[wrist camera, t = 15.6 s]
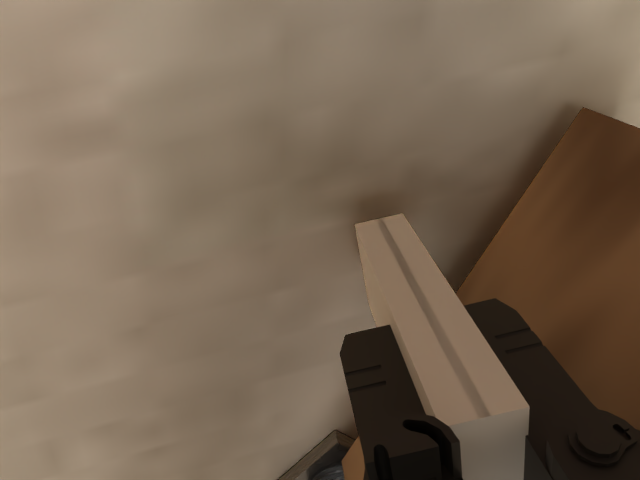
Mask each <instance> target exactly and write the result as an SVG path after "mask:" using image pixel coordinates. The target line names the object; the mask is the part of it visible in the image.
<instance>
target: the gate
mask: <svg viewBox="0 0 640 480" xmlns="http://www.w3.org/2000/svg"><path fill="white" fill-rule="evenodd" d="M456 295H457V297H458V298H459V300H460V301H461V303H462V304H463V306H464V305H468V304H472V303H476V302H481V301H485V300H489V299H493V298H496V299H498V300H499V301H501V302H503V303H505V304H506V305H508V306H510V307H511V308H513V309H515V310H516V311H517V312H518V313H519V314H520V315H521V317H522V318H523V319H524V320H525V322H526V323H527V324H528V325H529V327H530V329H531V331H533V332H534V333H535V334H536V335H537V336H538V338H539V339H540V340H541V341H542V344H543V346H546V348H547V349H548V350H549V351H550V352H551V354H552V355H553V356H554V357H555V359H556V360H557V361H558V362H559V364H560V365H561V366H562V367H563V368H564V370H565V371H566V372H567V373H568V375H569V376H570V377H571V378H572V380H573V381H574V382H575V383H576V384H577V386H578V387H579V388H580V389H581V391H582V392H583V393H584V394H585V396H586V397H587V398H588V399H589V400H590V402H591V403H592V404H593V405H594V406H595V407H596V408H597V409H599V410H604V411H607V412H609V413H612V414H614V415H616V416H618V417H620V418H622V419H624V420H626V421H627V422H628V423H629V424H630V425H631V426H633V427H634V428H635V429H637V430H640V128H637V127H635V126H632V125H629V124H627V123H624V122H621V121H619V120H616V119H613V118H611V117H608V116H605V115H603V114H600V113H597V112H595V111H592V110H589V109H587V108H584V107H583V108H582V109H581V111H580V112H579V113H578V115H577V116H576V118H575V119H574V121H573V122H572V124H571V125H570V127H569V128H568V130H567V131H566V133H565V134H564V135H563V137H562V138H561V140H560V141H559V143H558V144H557V146H556V147H555V149H554V150H553V152H552V153H551V155H550V156H549V157H548V159H547V160H546V162H545V163H544V165H543V166H542V168H541V169H540V171H539V172H538V174H537V175H536V177H535V178H534V179H533V181H532V182H531V184H530V185H529V187H528V188H527V190H526V191H525V193H524V194H523V196H522V197H521V199H520V200H519V201H518V203H517V204H516V206H515V207H514V209H513V210H512V212H511V213H510V215H509V216H508V218H507V219H506V221H505V222H504V223H503V225H502V226H501V228H500V229H499V231H498V232H497V234H496V235H495V237H494V238H493V240H492V241H491V243H490V244H489V245H488V247H487V248H486V250H485V251H484V253H483V254H482V256H481V257H480V259H479V260H478V262H477V263H476V265H475V266H474V267H473V269H472V270H471V272H470V273H469V275H468V276H467V278H466V279H465V281H464V282H463V284H462V285H461V287H460V288H459V289H458V291H457V292H456ZM342 467H343V473H344V478H345V480H363V477H364V471H365V464H364V456H363V451H362V447H361V443H360V439H359V436H358V438H357V439H356V440H355V442H354V443H353V445H352V446H351V448H350V449H349V451H348V452H347V454H346V455H345V457H344V458H343V460H342Z"/></svg>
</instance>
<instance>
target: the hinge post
mask: <svg viewBox="0 0 640 480" xmlns="http://www.w3.org/2000/svg"><path fill="white" fill-rule="evenodd" d="M354 442H355V440H354V439H352V438H350V437H348V436H346V435H344V434H342V433H340V432H338V431H336V430H335V431H334V432H332V433H331V434H330V435H329V436H328V437H327V438H326V439H324V440H323V441H322V442H321V443H320V444H319V445H318V446H316V447H315V448H314V449H313V450H312V451H311V452H309V453H308V454H307V455H306V456H305V457H304V458H303V459H301V460H300V461H299V462H298V463H297V464H296V465H294V466H293V467H292V468H291V469H290V470H289V471H288V472H286V473H285V474H284V475H283V476H282V477H281V478H280V479H278V480H345V478H344V473H343V467H342V460H343V458H344V457H345V455H346V454H347V452H348V451H349V449H350V448H351V446H352V445H353V443H354Z"/></svg>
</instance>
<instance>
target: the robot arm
mask: <svg viewBox="0 0 640 480" xmlns="http://www.w3.org/2000/svg"><path fill="white" fill-rule="evenodd" d="M354 225H355V230H356V236H357V242H358V247H359V253H360V258H361V264H362V270H363V275H364V281H365V287H366V292H367V298H368V303H369V306H370V309H371V312H372V315H373V318H374V320H375V323H376V326H377V328H372V329H368V330H364V331H360V332H356V333H351V334H347V335H345V337H344V341H343V344H342V348H341V351H340V357H341V361H342V366H343V370H344V374H345V378H346V383H347V387H348V391H349V396H350V400H351V404H352V409H353V413H354V417H355V421H356V426H357V430H358V434H359V439H360V443H361V447H362V451H363V456H364V464H365V471H364V477H363V480H640V430H637V429H635V428H634V427H633V426H631V425H630V424H629V423H628V422H627V421H626V420H624V419H622V418H620V417H618V416H616V415H614V414H612V413H609V412H607V411H604V410H599V409H597V408H596V407H595V406H594V405H593V404H592V403H591V402H590V400H589V399H588V398H587V397H586V396H585V394H584V393H583V392H582V391H581V389H580V388H579V387H578V386H577V384H576V383H575V382H574V381H573V380H572V378H571V377H570V376H569V375H568V373H567V372H566V371H565V370H564V368H563V367H562V366H561V365H560V364H559V362H558V361H557V360H556V359H555V357H554V356H553V355H552V354H551V352H550V351H549V350H548V349H547V348H546V346H543V344H542V341H541V340H540V339H539V338H538V336H537V335H536V334H535V333H534V332H533V331H531V329H530V327H529V325H528V324H527V323H526V322H525V320H524V319H523V318H522V317H521V315H520V314H519V313H518V312H517V311H516V310H515V309H513V308H511V307H510V306H508V305H506V304H505V303H503V302H501V301H499V300H498V299H496V298H493V299H489V300H485V301H481V302H476V303H472V304H468V305H464V306H463V304H462V303H461V301H460V300H459V298H458V297H457V295H456V294H455V292H454V291H453V289H452V288H451V286H450V285H449V283H448V282H447V280H446V279H445V277H444V276H443V274H442V273H441V271H440V269H439V268H438V266H437V265H436V263H435V262H434V260H433V259H432V257H431V256H430V254H429V253H428V251H427V250H426V248H425V247H424V245H423V244H422V242H421V241H420V239H419V238H418V236H417V234H416V233H415V231H414V230H413V228H412V227H411V225H410V224H409V222H408V221H407V219H406V218H405V216H404V215H403V213H401V214H397V215H392V216H388V217H384V218H379V219H375V220H371V221H366V222H362V223H358V224H354Z"/></svg>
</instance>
